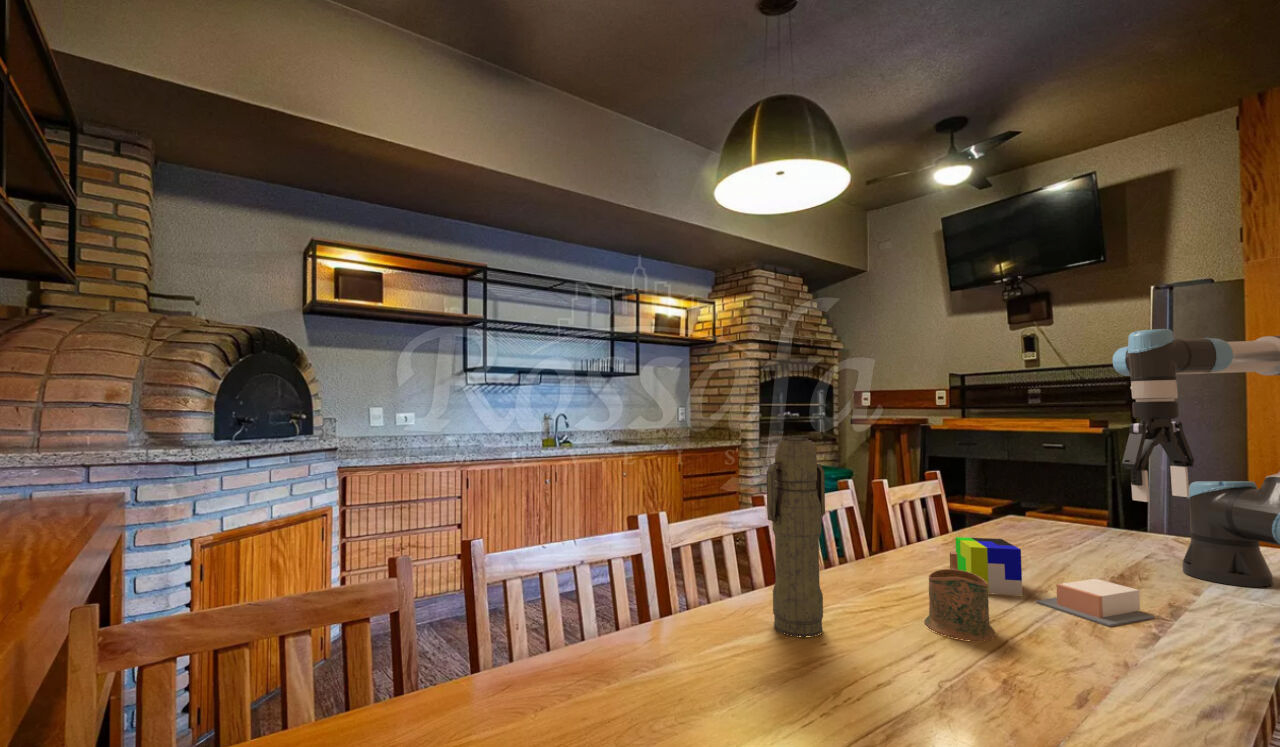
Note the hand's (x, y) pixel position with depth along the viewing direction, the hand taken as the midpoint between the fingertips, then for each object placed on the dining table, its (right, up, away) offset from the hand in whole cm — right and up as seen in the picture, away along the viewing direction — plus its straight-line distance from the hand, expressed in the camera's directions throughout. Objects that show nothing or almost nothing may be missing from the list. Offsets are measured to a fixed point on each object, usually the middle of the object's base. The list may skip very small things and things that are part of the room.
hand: (1161, 498), depth 125 cm
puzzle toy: (-34, -22, +6) cm, 41 cm away
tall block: (-15, -18, -6) cm, 24 cm away
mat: (-22, -21, -9) cm, 31 cm away
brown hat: (-53, -21, -16) cm, 59 cm away
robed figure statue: (-84, -20, -18) cm, 88 cm away
